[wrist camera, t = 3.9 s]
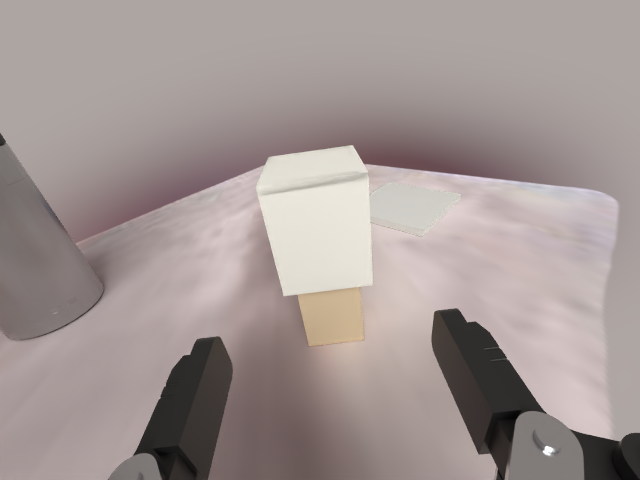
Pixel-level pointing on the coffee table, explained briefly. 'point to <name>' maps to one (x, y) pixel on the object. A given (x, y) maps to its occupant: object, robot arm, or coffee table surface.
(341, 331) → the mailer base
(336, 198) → the white rectangular block
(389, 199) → the grey mat
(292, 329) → the coffee table surface
